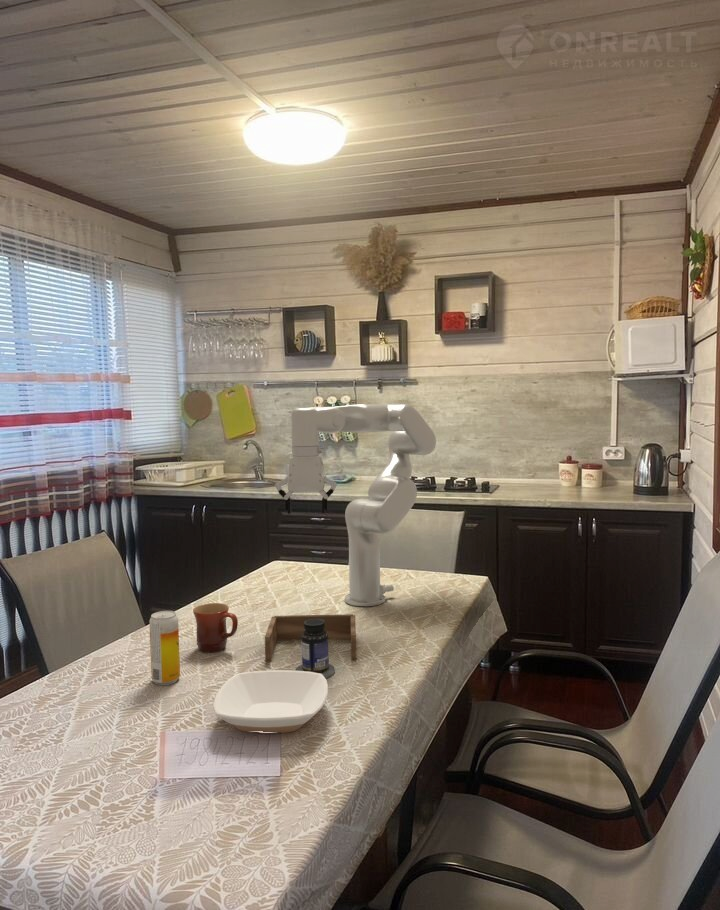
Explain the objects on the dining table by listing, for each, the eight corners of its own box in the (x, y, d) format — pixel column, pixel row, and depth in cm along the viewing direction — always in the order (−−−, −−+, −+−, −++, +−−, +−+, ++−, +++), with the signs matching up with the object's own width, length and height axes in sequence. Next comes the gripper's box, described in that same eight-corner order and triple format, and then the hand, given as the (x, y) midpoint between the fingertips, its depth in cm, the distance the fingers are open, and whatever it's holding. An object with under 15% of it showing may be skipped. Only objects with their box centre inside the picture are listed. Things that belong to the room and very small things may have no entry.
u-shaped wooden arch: (272, 638, 173) (272, 615, 172) (355, 636, 173) (355, 614, 173) (265, 661, 157) (264, 636, 157) (356, 659, 158) (356, 635, 157)
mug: (186, 651, 164) (185, 611, 164) (209, 640, 172) (207, 601, 171) (226, 658, 159) (225, 617, 158) (247, 646, 167) (246, 606, 166)
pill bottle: (330, 664, 154) (330, 617, 153) (326, 675, 148) (325, 626, 147) (304, 663, 154) (303, 617, 153) (299, 674, 148) (298, 626, 147)
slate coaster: (323, 661, 157) (323, 659, 157) (342, 674, 149) (342, 671, 149) (288, 669, 152) (288, 667, 152) (306, 683, 145) (306, 681, 145)
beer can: (185, 676, 149) (183, 611, 148) (169, 687, 143) (167, 620, 142) (162, 673, 151) (160, 609, 150) (145, 684, 145) (143, 617, 144)
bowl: (230, 693, 140) (229, 669, 140) (332, 694, 140) (331, 669, 139) (203, 746, 119) (202, 718, 118) (323, 747, 118) (323, 718, 118)
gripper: (336, 450, 189) (337, 510, 190) (275, 451, 189) (277, 511, 190) (336, 452, 182) (337, 514, 183) (273, 453, 181) (274, 515, 183)
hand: (306, 512), depth 186 cm, fingers open, 9 cm apart
